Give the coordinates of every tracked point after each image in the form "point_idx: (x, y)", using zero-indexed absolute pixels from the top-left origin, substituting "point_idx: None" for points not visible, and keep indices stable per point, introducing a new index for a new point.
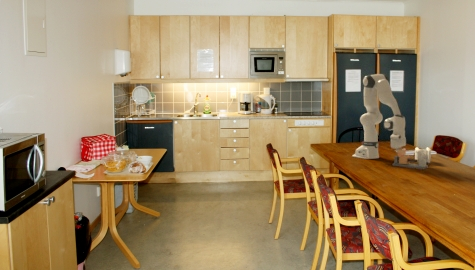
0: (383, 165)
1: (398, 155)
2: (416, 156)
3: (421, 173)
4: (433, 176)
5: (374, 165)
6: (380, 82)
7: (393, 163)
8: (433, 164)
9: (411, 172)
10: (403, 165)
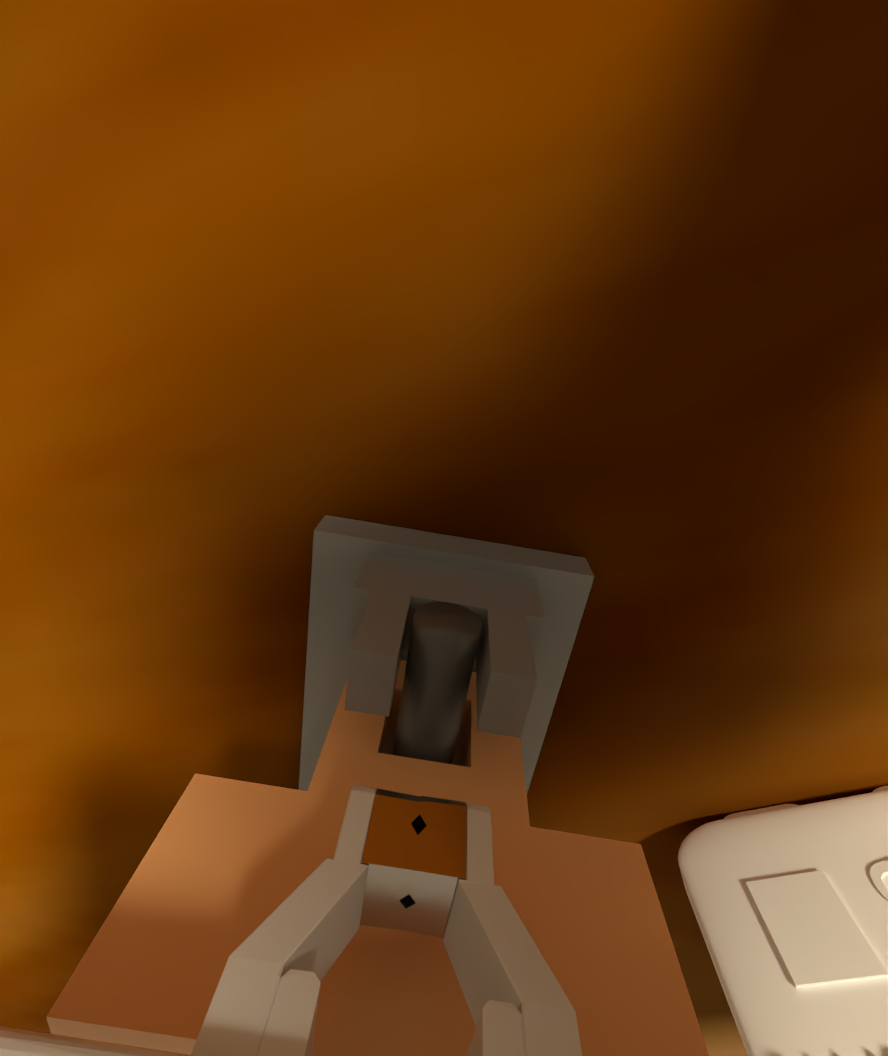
0: (211, 346)
1: (182, 812)
2: (800, 934)
3: (75, 910)
4: (35, 991)
5: (58, 126)
6: None
7: (336, 546)
8: (711, 961)
9: (34, 829)
10: (305, 716)
